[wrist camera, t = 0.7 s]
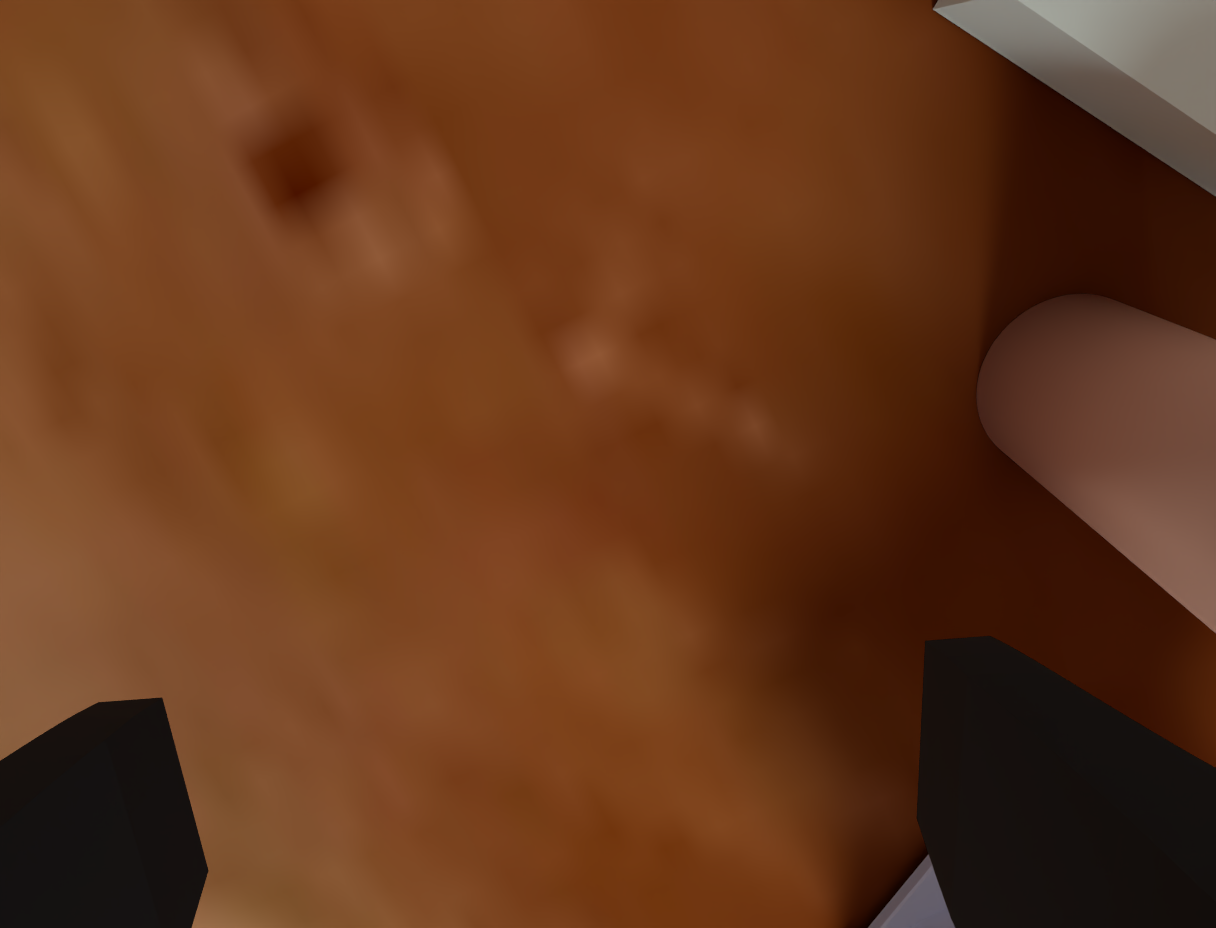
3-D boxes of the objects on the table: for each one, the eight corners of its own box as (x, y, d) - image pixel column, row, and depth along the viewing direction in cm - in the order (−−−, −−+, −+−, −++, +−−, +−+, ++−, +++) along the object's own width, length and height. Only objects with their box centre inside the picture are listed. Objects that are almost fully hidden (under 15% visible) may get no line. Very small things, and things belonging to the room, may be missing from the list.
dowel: (1194, 348, 18) (1612, 524, 11) (1080, 496, 19) (1392, 749, 12) (1051, 259, 18) (1393, 382, 10) (940, 417, 19) (1180, 634, 11)
